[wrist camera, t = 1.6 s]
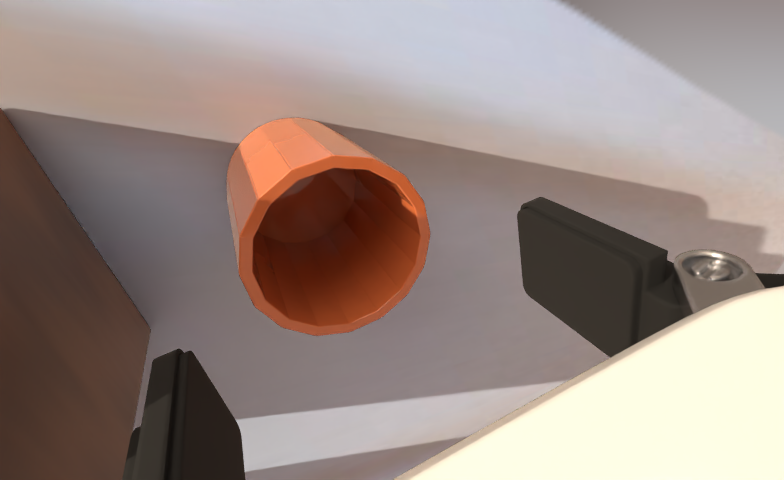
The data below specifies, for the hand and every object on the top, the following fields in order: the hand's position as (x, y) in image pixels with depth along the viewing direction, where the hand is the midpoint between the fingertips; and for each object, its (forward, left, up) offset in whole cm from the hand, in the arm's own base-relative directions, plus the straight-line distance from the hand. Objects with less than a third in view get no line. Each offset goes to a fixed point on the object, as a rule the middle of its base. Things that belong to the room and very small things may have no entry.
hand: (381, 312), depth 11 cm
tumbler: (0, 0, -11) cm, 11 cm away
